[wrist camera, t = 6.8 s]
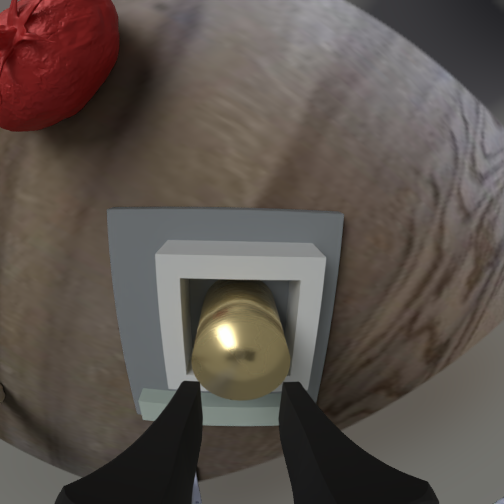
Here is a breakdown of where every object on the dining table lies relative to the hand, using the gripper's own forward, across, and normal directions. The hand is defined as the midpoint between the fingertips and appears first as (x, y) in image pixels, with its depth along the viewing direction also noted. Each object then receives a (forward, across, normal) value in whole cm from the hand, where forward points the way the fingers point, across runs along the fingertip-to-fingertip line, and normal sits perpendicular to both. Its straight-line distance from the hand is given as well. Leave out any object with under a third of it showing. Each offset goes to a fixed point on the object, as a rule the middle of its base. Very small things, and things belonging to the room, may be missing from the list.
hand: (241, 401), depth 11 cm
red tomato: (+10, +12, -16) cm, 22 cm away
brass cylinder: (+8, 0, 0) cm, 8 cm away
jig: (+9, +1, +2) cm, 10 cm away
